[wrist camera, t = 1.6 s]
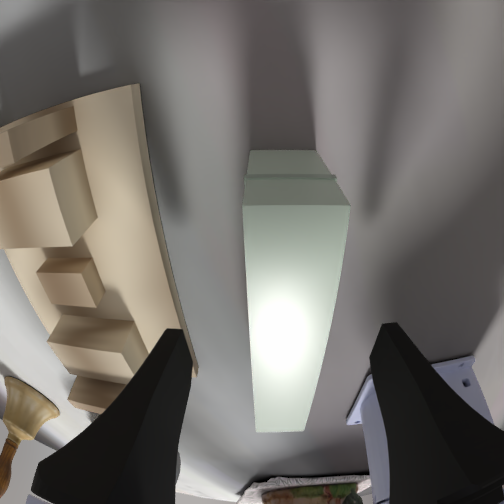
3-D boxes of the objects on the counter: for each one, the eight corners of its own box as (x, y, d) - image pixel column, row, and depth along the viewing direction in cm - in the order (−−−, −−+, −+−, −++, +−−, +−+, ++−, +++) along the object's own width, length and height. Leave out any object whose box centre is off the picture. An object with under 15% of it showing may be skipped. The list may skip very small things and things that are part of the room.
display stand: (139, 83, 9) (70, 97, 5) (198, 367, 18) (187, 430, 14) (-20, 137, 10) (-81, 172, 6) (71, 352, 18) (49, 401, 15)
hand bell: (27, 404, 28) (-5, 495, 15) (-6, 369, 24) (-49, 470, 10) (71, 420, 28) (41, 524, 15) (37, 385, 23) (-6, 506, 10)
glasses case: (316, 147, 11) (352, 203, 6) (298, 356, 17) (304, 431, 13) (248, 147, 11) (239, 203, 7) (257, 357, 17) (254, 432, 13)
